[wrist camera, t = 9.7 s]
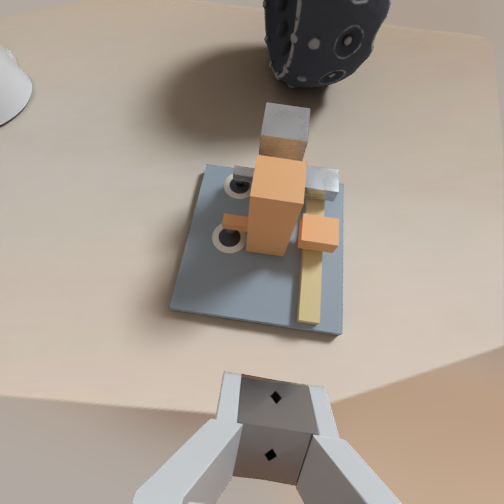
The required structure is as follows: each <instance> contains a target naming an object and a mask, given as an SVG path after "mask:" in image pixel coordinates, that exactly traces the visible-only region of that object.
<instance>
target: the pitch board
mask: <svg viewBox="0 0 504 504" xmlns="http://www.w3.org/2000/svg"><path fill="white" fill-rule="evenodd" d="M233 171H234V168H230V167H223V166H217V165H210V164H207V165H206V169H205V173H204V177H203V180H202V184H201V188H200V192H199V196H198V199H197V203H196V207H195V211H194V215H193V218H192V222H191V226H190V230H189V234H188V237H187V241H186V245H185V249H184V252H183V256H182V260H181V264H180V268H179V271H178V275H177V279H176V283H175V287H174V290H173V294H172V298H171V302H170V306H169V308H170V309H171V310H173V311H180V312H186V313H193V314H200V315H206V316H213V317H219V318H226V319H232V320H239V321H246V322H252V323H259V324H265V325H272V326H278V327H285V328H292V329H298V330H305V331H311V332H318V333H324V334H331V335H338V336H339V335H341V334H342V316H343V201H344V184H340V183H339V192H338V194H337V196H336V198H335V200H334V201H333V202H332V201H325V200H318V199H311V198H304V204H303V207H302V209H301V212H300V215H299V217H298V220H297V222H296V225H295V227H294V230H293V233H292V235H291V238H290V240H289V243H288V245H287V248H286V251H285V253H284V256H283V257H282V256H275V255H268V254H262V253H255V252H248V251H246V242H247V232H244V231H237V230H235V232H234V233H232V234H228V233H227V232H226V229H224V228H222V221H223V216H224V213H226V214H233V215H239V216H246V217H248V215H249V202H250V193H251V187H252V183H251V182H244V185H243V186H241V187H239V186H237V185H236V182H235V180H233ZM303 213H304V214H310V215H317V216H324V217H331V218H337V219H339V246H338V247H337V248H336V250H335V251H334V252H333V253H329V252H322V251H315V250H309V249H302V248H298V237H299V225H300V221H301V218H302V216H303Z"/></svg>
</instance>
